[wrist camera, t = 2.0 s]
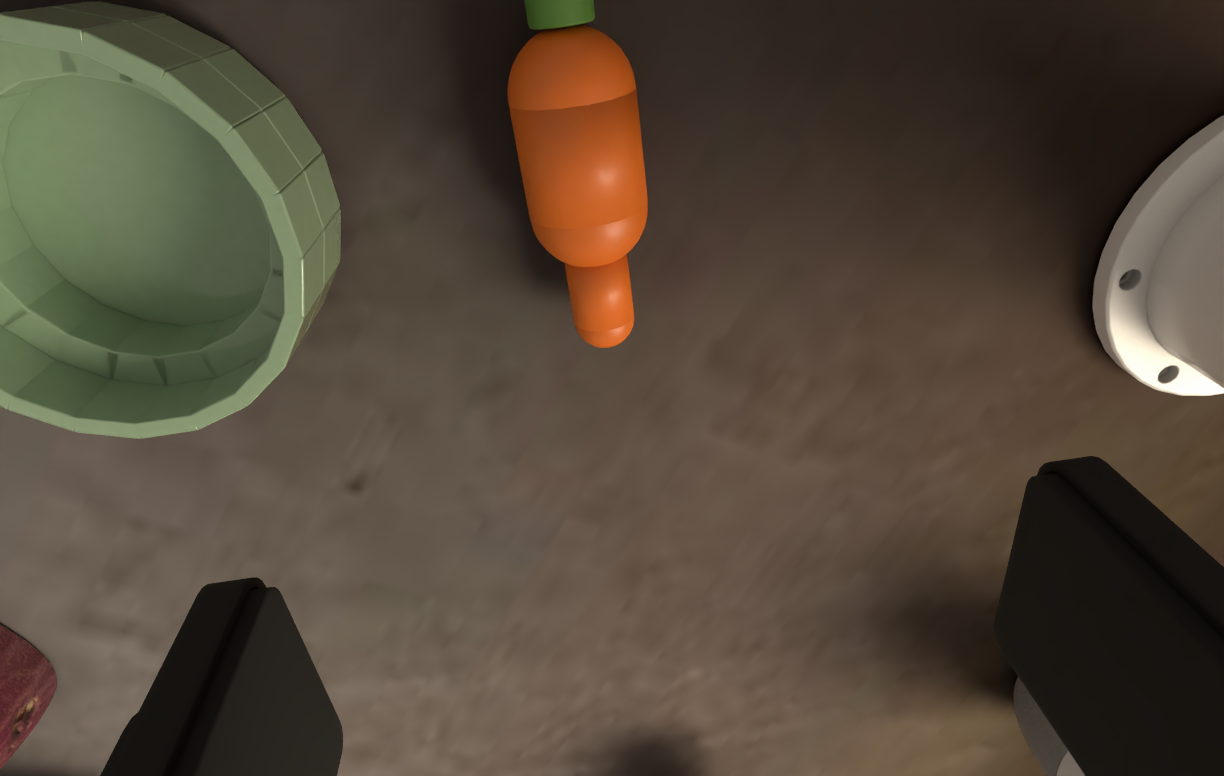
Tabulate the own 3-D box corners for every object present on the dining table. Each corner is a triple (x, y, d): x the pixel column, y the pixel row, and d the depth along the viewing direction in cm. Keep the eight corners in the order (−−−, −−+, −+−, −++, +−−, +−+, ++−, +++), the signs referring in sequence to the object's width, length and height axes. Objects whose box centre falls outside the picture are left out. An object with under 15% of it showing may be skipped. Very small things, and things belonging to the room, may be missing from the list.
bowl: (274, -26, 23) (205, -18, 18) (385, 332, 29) (356, 407, 24) (-127, 32, 23) (-302, 55, 18) (72, 378, 29) (-20, 463, 24)
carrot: (492, -8, 24) (484, 0, 20) (618, -26, 24) (632, -21, 20) (553, 328, 30) (555, 378, 26) (654, 313, 30) (669, 361, 26)
